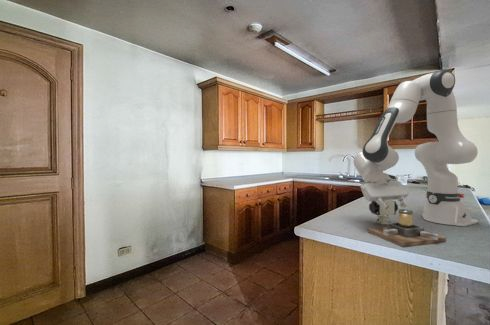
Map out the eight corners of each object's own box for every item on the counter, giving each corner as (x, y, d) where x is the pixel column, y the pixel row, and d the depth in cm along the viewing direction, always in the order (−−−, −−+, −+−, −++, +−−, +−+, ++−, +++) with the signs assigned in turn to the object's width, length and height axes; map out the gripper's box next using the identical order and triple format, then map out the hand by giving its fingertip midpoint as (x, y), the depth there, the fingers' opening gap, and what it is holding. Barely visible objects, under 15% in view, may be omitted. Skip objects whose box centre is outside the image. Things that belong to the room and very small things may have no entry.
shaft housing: (406, 228, 101) (406, 218, 101) (449, 242, 85) (449, 230, 85) (368, 232, 97) (368, 221, 97) (405, 248, 80) (406, 235, 80)
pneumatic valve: (398, 224, 107) (398, 198, 107) (375, 225, 106) (375, 199, 105) (389, 221, 113) (389, 196, 112) (367, 222, 111) (367, 197, 111)
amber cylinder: (404, 230, 94) (405, 208, 94) (415, 234, 90) (415, 211, 89) (395, 231, 93) (396, 209, 93) (405, 235, 88) (406, 212, 88)
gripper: (361, 177, 100) (379, 204, 91) (399, 176, 105) (419, 201, 96) (354, 186, 104) (370, 213, 95) (390, 184, 109) (409, 209, 100)
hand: (395, 207), depth 95 cm, fingers open, 8 cm apart
